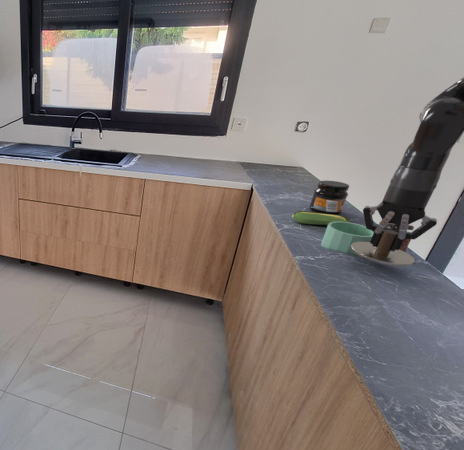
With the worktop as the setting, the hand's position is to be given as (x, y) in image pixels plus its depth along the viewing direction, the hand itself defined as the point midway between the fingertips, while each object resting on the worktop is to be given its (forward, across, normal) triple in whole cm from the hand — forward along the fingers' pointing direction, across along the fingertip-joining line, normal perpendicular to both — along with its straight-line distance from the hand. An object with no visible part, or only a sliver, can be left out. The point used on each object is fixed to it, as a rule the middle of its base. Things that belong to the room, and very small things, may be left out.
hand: (383, 247), depth 82 cm
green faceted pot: (+8, +8, -12) cm, 17 cm away
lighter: (+9, -1, -19) cm, 21 cm away
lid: (+2, 0, 0) cm, 2 cm away
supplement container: (+9, +20, -48) cm, 53 cm away
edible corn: (+9, +17, -31) cm, 36 cm away
